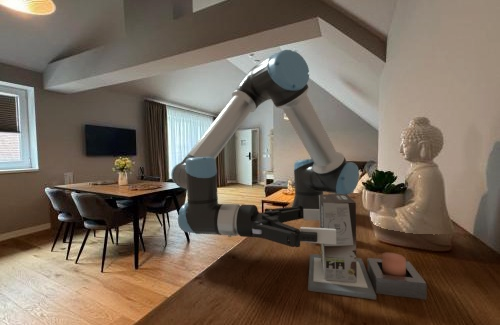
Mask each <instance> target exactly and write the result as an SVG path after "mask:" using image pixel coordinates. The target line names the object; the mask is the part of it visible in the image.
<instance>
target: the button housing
mask: <svg viewBox="0 0 500 325" xmlns="http://www.w3.org/2000/svg"><path fill="white" fill-rule="evenodd" d="M366 265H367V273H368V276H369V278H370V281H371V284H372V286H373V289H374V291H375V294H379V295H380V294H381V295H385V296H386V295H387V296H393V297H395V296H396V297H404V298H411V299H417V300H418V299H419V300H427V297H428V296H427V292H428V291H427V289H428V288H427V287H428V286H427V282H426V281H425V280H424V278H423V277H422V276H421V274H420V273H419V272H418V271H417V269H416V268H415V267H414V266H413V264H412V263H411V262H410V261H409V260H408V261H407V260H406V277H401V276H392V275H384V274H383V273H382V258H372V257H367V264H366Z"/></svg>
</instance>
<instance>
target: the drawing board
mask: <svg viewBox="0 0 500 325" xmlns="http://www.w3.org/2000/svg"><path fill="white" fill-rule="evenodd" d="M356 266H357V282H356V283H353V282H343V281H332V280H325V279H324V273H323V268H322V263H321V254H312V253H310V254H309V266H308V267H309V268H308V280H307V281H308V282H307V283H308V284H307V290H308V291H309V292H317V293H323V294H324V293H325V294H329V295H330V294H331V295H338V296H339V295H340V296H345V297H353V298H361V299H367V300H368V299H369V300H374V301H375V300H377V293H376V291H375V288H374V286H373V283H372V281H371V278H370V276H369V273H368V270H367V269H366V266H365V264H364V261H363V258H357V257H356Z"/></svg>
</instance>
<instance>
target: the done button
mask: <svg viewBox="0 0 500 325" xmlns="http://www.w3.org/2000/svg"><path fill="white" fill-rule="evenodd" d="M381 257H382V258H381V259H382V273H383V274H384V275H392V276H401V277H406V261H407V259H406V257H405V256H403V255H402V254H399V253H395V252H384V253H382V254H381Z"/></svg>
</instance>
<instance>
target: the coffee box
mask: <svg viewBox="0 0 500 325" xmlns="http://www.w3.org/2000/svg"><path fill="white" fill-rule="evenodd" d="M356 209H357V203H356V201H354V200H353V198H351V197H350V196H349V194H348V195H347V194H334V193H328V194H323V195H319V212H320V221H319V228H329V229H336V244H323V243H320V255H321V263H322V268H323V273H324V279H325V280H332V281H343V282H353V283H356V282H357V266H356V258H357V210H356Z"/></svg>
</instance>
